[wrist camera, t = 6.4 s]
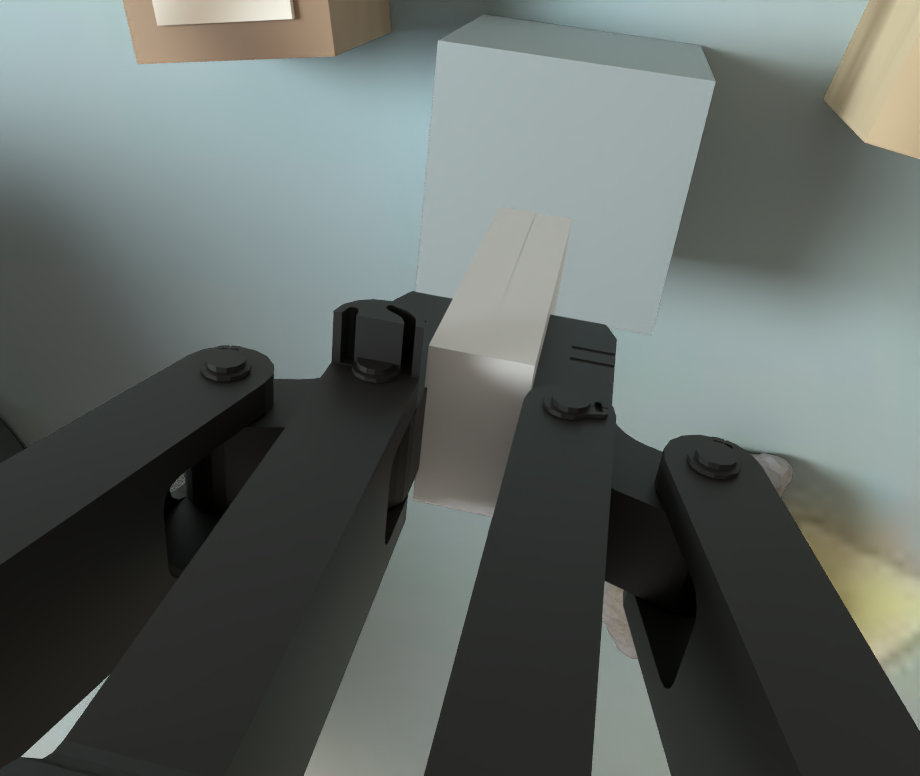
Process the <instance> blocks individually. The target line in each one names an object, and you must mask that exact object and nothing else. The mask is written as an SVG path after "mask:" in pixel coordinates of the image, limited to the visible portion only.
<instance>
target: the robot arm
mask: <svg viewBox="0 0 920 776" xmlns="http://www.w3.org/2000/svg"><path fill="white" fill-rule="evenodd" d="M571 223H572V219H570V218H564V217H558V216H552V215H546V214H541V213H535V212H529V211H523V210H517V209H511V208H505V207H500V208H499V210H498V212H497V214H496V216H495V218H494V220H493V222H492V224H491V226H490V228H489V230H488V231H487V233H486V235H485V237H484V239H483V241H482V243H481V245H480V247H479V249H478V251H477V253H476V255H475V257H474V259H473V261H472V263H471V264H470V266H469V268H468V270H467V272H466V274H465V276H464V278H463V280H462V282H461V284H460V286H459V288H458V290H457V292H456V294H455V296H454V297H453V299H452V298H447V297H441V296H436V295H430V294H425V293H419V292H414V291H412V292H410V293H408V294H406V295H404V296H402V297H400V298H397V299H395V300H394V301H385V300H375V299H371V300H357V301H353V302H350V303H346V304H343V305H341V306H340V307H339V308H337V309H336V310H334V317H333V344H332V362H331V364H330V365H329V367H328V368H327V369H326V371H325V372H324V374H323V375H322V376H321V378H316V379H300V380H299V379H274V365H273V363H272V362H271V361H270V359H269V358H268V357H267V356H265V355H263V354H261V353H259V352H257V351H255V350H251V349H247V348H242V347H240V346H231V347H229V346H218V347H214V348H208V349H203V350H200V351H198V352H195V353H193V354H190V355H188V356H186V357H185V358H183V359H181V360H179V361H178V362H176V363H174V364H172V365H171V366H169V367H167V368H165V369H164V370H162V371H160V372H158V373H157V374H155V375H153V376H151V377H150V378H148V379H146V380H145V381H143V382H141V383H139V384H138V385H136V386H134V387H132V388H131V389H129V390H127V391H125V392H124V393H122V394H120V395H118V396H117V397H115V398H113V399H111V400H110V401H108V402H106V403H105V404H103V405H101V406H99V407H98V408H96V409H94V410H92V411H91V412H89V413H87V414H85V415H84V416H82V417H80V418H78V419H77V420H75V421H73V422H71V423H70V424H68V425H66V426H64V427H63V428H61V429H59V430H58V431H56V432H54V433H52V434H51V435H49V436H47V437H45V438H44V439H42V440H40V441H38V442H37V443H35V444H33V445H31V446H30V447H28V448H26V449H23V447H22V446H21V444H20V443H19V442H18V440H17V439H16V438H15V437H14V435H13V434H12V433H11V432H10V431H9V429H8V428H7V427H6V426H5V425H4V424H3V423H2V422H1V421H0V776H304V773H305V771H306V768H307V766H308V763H309V761H310V758H311V755H312V753H313V750H314V748H315V745H316V743H317V740H318V738H319V735H320V733H321V730H322V728H323V725H324V723H325V720H326V718H327V715H328V713H329V710H330V708H331V705H332V703H333V700H334V698H335V695H336V693H337V690H338V688H339V685H340V683H341V680H342V678H343V675H344V673H345V670H346V668H347V665H348V663H349V660H350V658H351V655H352V653H353V650H354V648H355V645H356V643H357V640H358V638H359V635H360V633H361V630H362V628H363V625H364V623H365V620H366V618H367V615H368V613H369V610H370V608H371V605H372V603H373V600H374V598H375V595H376V593H377V590H378V588H379V585H380V583H381V580H382V578H383V575H384V573H385V570H386V568H387V565H388V563H389V560H390V558H391V555H392V553H393V550H394V548H395V545H396V543H397V540H398V538H399V535H400V533H401V530H402V528H403V525H404V523H405V519H406V509H407V499H408V493H409V490H410V488H411V486H412V483H413V481H414V478H415V484H414V493H413V500H414V501H418V502H423V503H428V504H433V505H437V506H442V507H447V508H451V509H456V510H461V511H465V512H470V513H475V514H479V515H484V516H489V517H492V521H491V525H490V528H489V532H488V536H487V540H486V543H485V547H484V551H483V555H482V559H481V562H480V566H479V570H478V574H477V577H476V581H475V585H474V589H473V592H472V596H471V600H470V604H469V608H468V611H467V615H466V619H465V623H464V626H463V630H462V634H461V638H460V641H459V645H458V649H457V653H456V657H455V660H454V664H453V668H452V672H451V675H450V679H449V683H448V687H447V691H446V694H445V698H444V702H443V706H442V709H441V713H440V717H439V721H438V724H437V728H436V732H435V736H434V740H433V743H432V747H431V751H430V755H429V758H428V762H427V766H426V770H425V773H424V776H591V771H592V756H593V742H594V728H595V713H596V699H597V684H598V670H599V656H600V641H601V627H602V613H603V598H604V584H605V581H606V582H608V583H610V584H612V585H614V586H616V587H619V588H621V589H623V590H624V591H623V608H624V611H625V615H626V618H627V622H628V625H629V629H630V632H631V636H632V639H633V643H634V646H635V650H636V653H637V657H638V660H639V664H640V667H641V671H642V674H643V678H644V681H645V685H646V688H647V692H648V695H649V699H650V702H651V706H652V709H653V713H654V717H655V720H656V724H657V727H658V731H659V734H660V738H661V741H662V745H663V748H664V752H665V755H666V759H667V762H668V766H669V769H670V773H671V776H920V731H919V729H918V728H917V726H916V724H915V723H914V721H913V719H912V717H911V716H910V714H909V712H908V711H907V709H906V707H905V706H904V704H903V702H902V701H901V699H900V697H899V696H898V694H897V692H896V691H895V689H894V687H893V686H892V684H891V682H890V681H889V679H888V677H887V675H886V674H885V672H884V670H883V669H882V667H881V665H880V664H879V662H878V660H877V659H876V657H875V655H874V654H873V652H872V650H871V649H870V647H869V645H868V644H867V642H866V640H865V639H864V637H863V635H862V633H861V632H860V630H859V628H858V627H857V625H856V623H855V622H854V620H853V618H852V617H851V615H850V613H849V612H848V610H847V608H846V607H845V605H844V603H843V602H842V600H841V598H840V597H839V595H838V593H837V591H836V590H835V588H834V586H833V585H832V583H831V581H830V580H829V578H828V576H827V575H826V573H825V571H824V570H823V568H822V566H821V565H820V563H819V561H818V560H817V558H816V556H815V555H814V553H813V551H812V549H811V548H810V546H809V544H808V543H807V541H806V539H805V538H804V536H803V534H802V533H801V531H800V529H799V528H798V526H797V524H796V523H795V521H794V519H793V518H792V516H791V514H790V512H789V511H788V509H787V507H786V506H785V504H784V502H783V501H782V499H781V497H780V496H779V494H778V492H777V491H776V489H775V487H774V486H773V484H772V482H771V481H770V479H769V477H768V476H767V474H766V472H765V470H764V469H763V467H762V466H761V465H760V463H759V462H758V461H757V460H756V459H755V458H754V457H753V456H752V455H751V454H750V453H748V452H746V451H745V450H743V449H742V448H740V447H739V446H737V445H735V444H734V443H731V442H729V441H727V440H726V441H724V439H721V438H717V437H709V436H703V435H686V436H680V437H678V438H675V439H673V440H670V441H669V443H668V444H667V445H666V447H665V448H664V450H663V452H662V451H659V450H656V449H654V448H651V447H649V446H647V445H645V444H643V443H640V442H638V441H636V440H635V439H633V438H632V437H630V436H629V435H627V434H626V433H624V432H623V431H622V430H621V429H620V428H619V427H618V426H617V424H616V415H615V411H614V408H613V406H612V395H613V382H614V367H615V354H616V342H617V339H616V338H615V336H614V335H613V334H612V332H611V331H610V330H609V328H608V327H607V325H605V324H600V323H594V322H589V321H583V320H578V319H573V318H567V317H562V316H556V315H554V314H555V309H556V304H557V298H558V293H559V287H560V282H561V277H562V271H563V266H564V260H565V255H566V250H567V244H568V239H569V233H570V228H571ZM183 473H184V476H185V484H184V485H183V486H181V487H180V488H179V489H177V490H176V491H174V492H172V493H170V490H169V489H170V487H171V485H172V484H173V483H174V482H175V481H176V480H177V479H178V477H179V476H180V475H181V474H183ZM109 675H110V676H109ZM107 676H109V677H108V678H107V680H106V681H105V683H104V684H103V685H102V687H101V688H100V690H99V691H98V692H97V694H96V695H95V697H94V698H93V700H92V701H91V702H90V704H89V705H88V707H87V708H86V709H85V711H84V712H83V714H82V715H81V716H80V718H79V719H78V721H77V722H76V724H75V725H74V726H73V728H72V729H71V731H70V732H69V733H68V735H67V736H66V738H65V739H64V740H63V742H62V743H61V744H60V745H59V746H58V747H57V748H56V750H55V751H54V752H53V753H51V754H50V755H48V756H46V757H45V758H43V759H37V758H25V757H21V756H22V755H23V754H24V753H25V752H26V751H27V750H29V749H30V748H31V747H32V746H33V745H34V744H35V743H36V742H37V741H38V740H39V739H40V738H42V737H43V736H44V735H45V734H46V733H47V732H48V731H49V730H50V729H51V728H52V727H53V726H55V725H56V724H57V723H58V722H59V721H60V720H61V719H62V718H63V717H64V716H65V715H66V714H67V713H69V712H70V711H71V710H72V709H73V708H74V707H75V706H76V705H77V704H78V703H79V702H80V701H82V700H83V699H84V698H85V697H86V696H87V695H88V694H89V693H90V692H91V691H92V690H93V689H95V688H96V687H97V686H98V685H99V684H100V683H101V682H102V681H103V680H104V679H105V678H106V677H107Z"/></svg>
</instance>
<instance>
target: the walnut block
mask: <svg viewBox="0 0 920 776" xmlns="http://www.w3.org/2000/svg"><path fill="white" fill-rule="evenodd" d="M123 3H124V8H125V12H126V16H127V21H128V25H129V30H130V34H131V38H132V43H133V47H134V51H135V56H136V60H137V64H153V63H178V62H203V61H228V60H254V59H279V58H304V57H329V56H337V55H339V54H341V53H344V52H346V51H348V50H351V49H353V48H355V47H358V46H360V45H362V44H365V43H367V42H369V41H372V40H374V39H376V38H379V37H381V36H383V35H386V34H388V33H390V32H392V27H391V16H390V5H389V0H123Z"/></svg>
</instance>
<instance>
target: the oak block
mask: <svg viewBox="0 0 920 776" xmlns="http://www.w3.org/2000/svg"><path fill="white" fill-rule="evenodd" d="M823 100H824V101H825V102H826V103H827V104H828V105H829V106H830V107H831V108H832V109H833V110H834V111H835V112H836V114H837V115H838V116H839V117H840V118H841V119H842V120H843V121H844V122H845V123H846V124H847V125H848V126H849V127H850V128H851V129H852V130H853V131H854V132H855V133H856V134H857V135H858V136H859V137H860V138H861V139H862V140H863V141H864V142H865V143H868V144H871V145H875V146H878V147H881V148H884V149H888V150H891V151H894V152H897V153H901V154H904V155H907V156H911V157H914V158H917V159H920V0H869V3H868V5H867V7H866V9H865V11H864V13H863V15H862V18H861V20H860V22H859V24H858V26H857V28H856V30H855V32H854V35H853V37H852V39H851V41H850V43H849V45H848V47H847V50H846V52H845V54H844V56H843V58H842V60H841V62H840V64H839V67H838V69H837V71H836V73H835V75H834V77H833V79H832V81H831V84H830V86H829V88H828V90H827V92H826V94H825V96H824V99H823Z"/></svg>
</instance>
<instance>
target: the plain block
mask: <svg viewBox="0 0 920 776" xmlns="http://www.w3.org/2000/svg"><path fill="white" fill-rule="evenodd" d="M715 83H716V81H715V78H714V76H713V74H712V71H711V69H710V66H709V64H708V62H707V59H706V57H705V54H704V52H703V50H702V47H701V45H695V44H688V43H681V42H674V41H667V40H660V39H653V38H646V37H639V36H632V35H625V34H618V33H611V32H604V31H597V30H590V29H583V28H576V27H569V26H562V25H555V24H548V23H541V22H534V21H527V20H520V19H513V18H506V17H499V16H492V15H485V14H483V15H482V16H480V17H478V18H476V19H475V20H473V21H471V22H469V23H467V24H466V25H464V26H462V27H460V28H459V29H457V30H455V31H453V32H452V33H450V34H448V35H446V36H445V37H443V38H441V39H439V40H438V43H437V55H436V66H435V77H434V88H433V99H432V110H431V122H430V133H429V144H428V155H427V166H426V178H425V189H424V200H423V211H422V222H421V234H420V245H419V256H418V267H417V278H416V289H415V292H419V293H425V294H430V295H436V296H441V297H447V298H452V299H453V297H454V296H455V294H456V292H457V290H458V288H459V286H460V284H461V282H462V280H463V278H464V276H465V274H466V272H467V270H468V268H469V266H470V264H471V263H472V261H473V259H474V257H475V255H476V253H477V251H478V249H479V247H480V245H481V243H482V241H483V239H484V237H485V235H486V233H487V231H488V230H489V228H490V226H491V224H492V222H493V220H494V218H495V216H496V214H497V212H498V210H499V208H500V207H505V208H511V209H517V210H523V211H529V212H535V213H541V214H546V215H552V216H558V217H564V218H570V219H572V223H571V228H570V233H569V239H568V244H567V250H566V255H565V260H564V266H563V271H562V277H561V282H560V287H559V293H558V298H557V304H556V309H555V314H554V315H556V316H562V317H567V318H573V319H578V320H583V321H589V322H594V323H600V324H605V325H607V327H608V328H614V329H619V330H625V331H630V332H635V333H641V334H646V335H652V332H653V328H654V324H655V320H656V316H657V312H658V308H659V304H660V300H661V296H662V292H663V288H664V284H665V280H666V276H667V272H668V268H669V264H670V260H671V257H672V253H673V249H674V245H675V241H676V237H677V233H678V229H679V225H680V221H681V217H682V213H683V209H684V205H685V201H686V197H687V193H688V189H689V185H690V181H691V177H692V173H693V170H694V166H695V162H696V158H697V154H698V150H699V146H700V142H701V138H702V134H703V130H704V126H705V122H706V118H707V114H708V110H709V106H710V102H711V98H712V94H713V90H714V86H715Z"/></svg>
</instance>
